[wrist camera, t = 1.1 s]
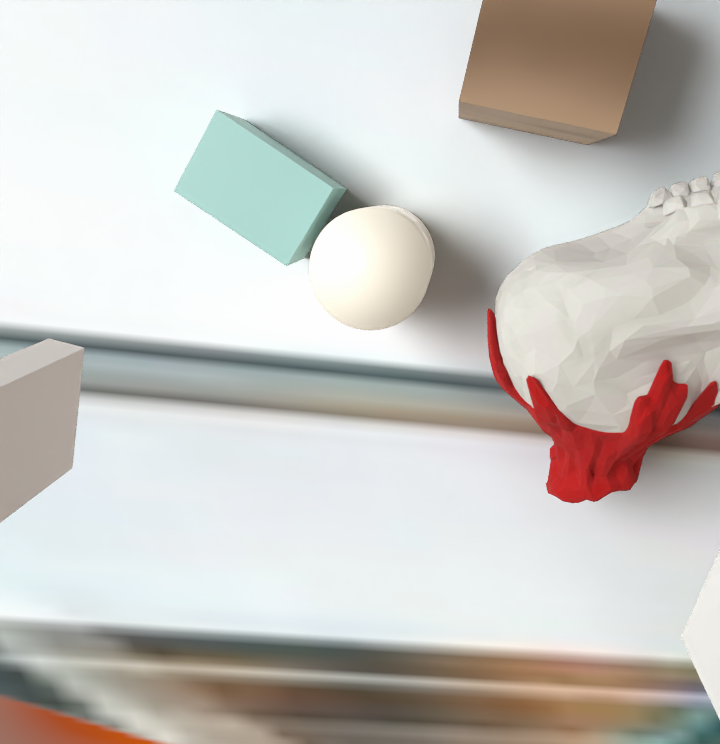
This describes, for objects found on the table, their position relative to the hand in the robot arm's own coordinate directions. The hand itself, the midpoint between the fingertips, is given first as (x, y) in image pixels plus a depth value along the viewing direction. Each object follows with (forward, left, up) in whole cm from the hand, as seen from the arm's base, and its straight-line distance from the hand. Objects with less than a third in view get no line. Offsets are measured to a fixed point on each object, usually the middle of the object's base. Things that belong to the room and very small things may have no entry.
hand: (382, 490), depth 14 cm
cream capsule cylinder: (-2, -3, -21) cm, 22 cm away
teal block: (-4, -9, -22) cm, 24 cm away
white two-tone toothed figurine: (-1, +8, -22) cm, 23 cm away
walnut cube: (-12, +2, -22) cm, 25 cm away
